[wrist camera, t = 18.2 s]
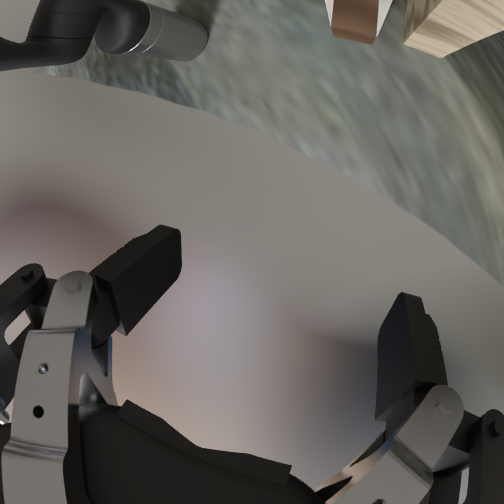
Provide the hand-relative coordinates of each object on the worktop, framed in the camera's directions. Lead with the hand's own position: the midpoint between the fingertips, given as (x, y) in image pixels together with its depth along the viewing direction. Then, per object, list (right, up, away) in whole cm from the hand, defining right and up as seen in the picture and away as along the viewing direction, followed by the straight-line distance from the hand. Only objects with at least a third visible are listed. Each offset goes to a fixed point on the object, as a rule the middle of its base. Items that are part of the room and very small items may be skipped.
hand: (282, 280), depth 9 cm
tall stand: (+28, +42, +13) cm, 53 cm away
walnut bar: (+8, +28, -3) cm, 29 cm away
